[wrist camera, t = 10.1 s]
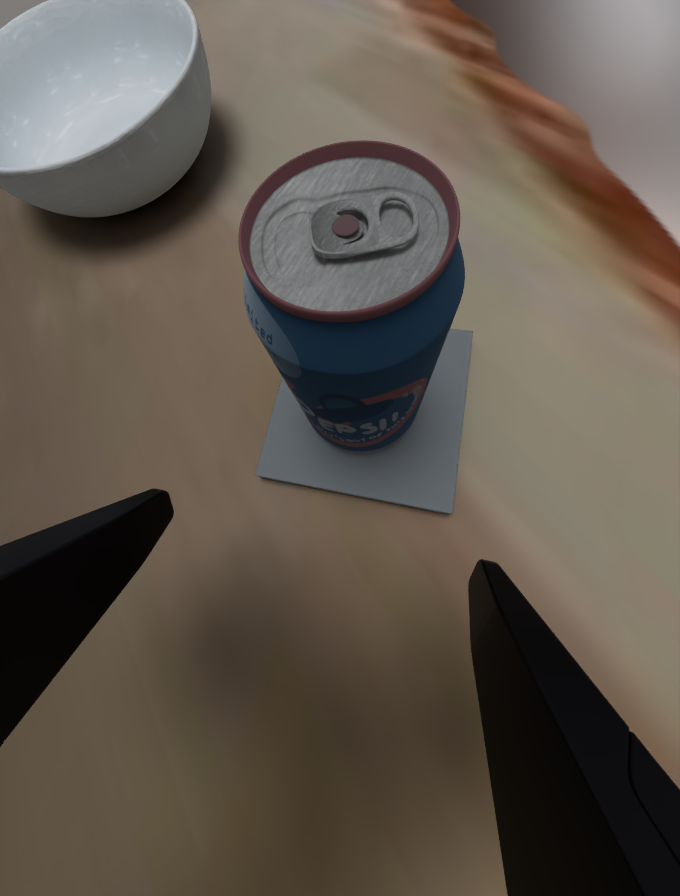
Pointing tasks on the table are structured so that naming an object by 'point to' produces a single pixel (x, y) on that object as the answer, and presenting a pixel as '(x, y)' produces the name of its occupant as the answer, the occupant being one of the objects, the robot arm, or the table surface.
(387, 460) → the mat
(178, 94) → the serving bowl
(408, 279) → the soda can
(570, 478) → the table surface
